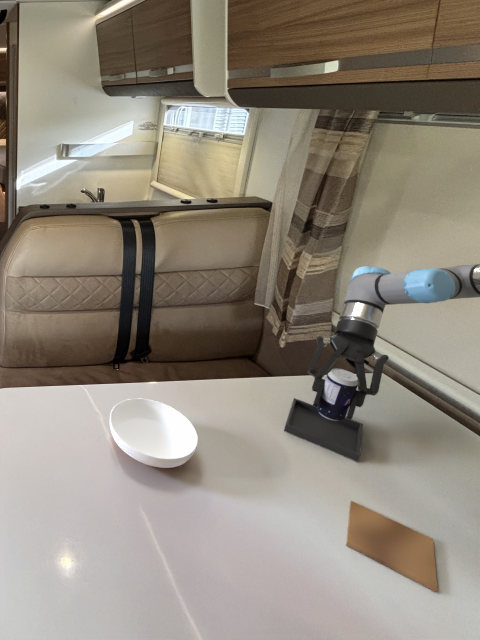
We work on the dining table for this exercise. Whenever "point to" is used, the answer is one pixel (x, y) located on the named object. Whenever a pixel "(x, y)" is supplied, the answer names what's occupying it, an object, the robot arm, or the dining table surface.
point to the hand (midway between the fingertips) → (332, 411)
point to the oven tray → (325, 430)
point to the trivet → (392, 545)
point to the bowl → (153, 432)
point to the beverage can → (337, 394)
